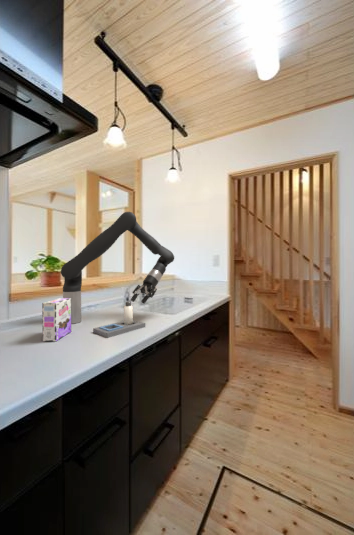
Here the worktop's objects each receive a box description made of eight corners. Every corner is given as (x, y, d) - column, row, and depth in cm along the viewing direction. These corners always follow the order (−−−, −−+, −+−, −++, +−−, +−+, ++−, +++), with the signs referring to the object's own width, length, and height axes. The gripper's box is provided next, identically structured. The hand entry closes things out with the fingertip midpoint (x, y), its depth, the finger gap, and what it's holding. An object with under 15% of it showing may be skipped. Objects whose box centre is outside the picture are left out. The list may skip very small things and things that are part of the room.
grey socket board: (93, 332, 107) (93, 327, 107) (130, 322, 124) (130, 318, 124) (107, 337, 99) (107, 332, 99) (145, 326, 116) (145, 321, 116)
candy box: (55, 341, 94) (55, 302, 94) (42, 341, 95) (41, 302, 94) (72, 331, 108) (71, 297, 108) (59, 331, 108) (59, 297, 108)
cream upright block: (122, 327, 115) (122, 302, 115) (129, 325, 118) (129, 300, 118) (127, 329, 112) (127, 302, 112) (134, 327, 116) (134, 301, 115)
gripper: (140, 274, 131) (124, 296, 122) (158, 274, 122) (142, 298, 113) (147, 282, 135) (132, 304, 126) (165, 283, 126) (150, 307, 117)
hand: (137, 301), depth 120 cm, fingers open, 8 cm apart
